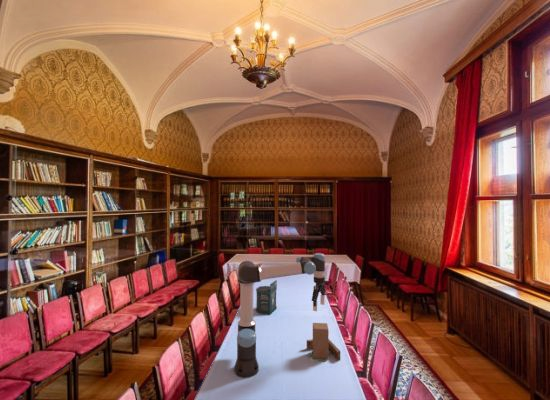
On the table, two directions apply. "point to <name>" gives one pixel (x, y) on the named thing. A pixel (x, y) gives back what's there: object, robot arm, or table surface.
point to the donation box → (266, 299)
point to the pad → (316, 358)
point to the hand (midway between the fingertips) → (318, 307)
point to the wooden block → (320, 340)
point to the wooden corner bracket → (331, 347)
